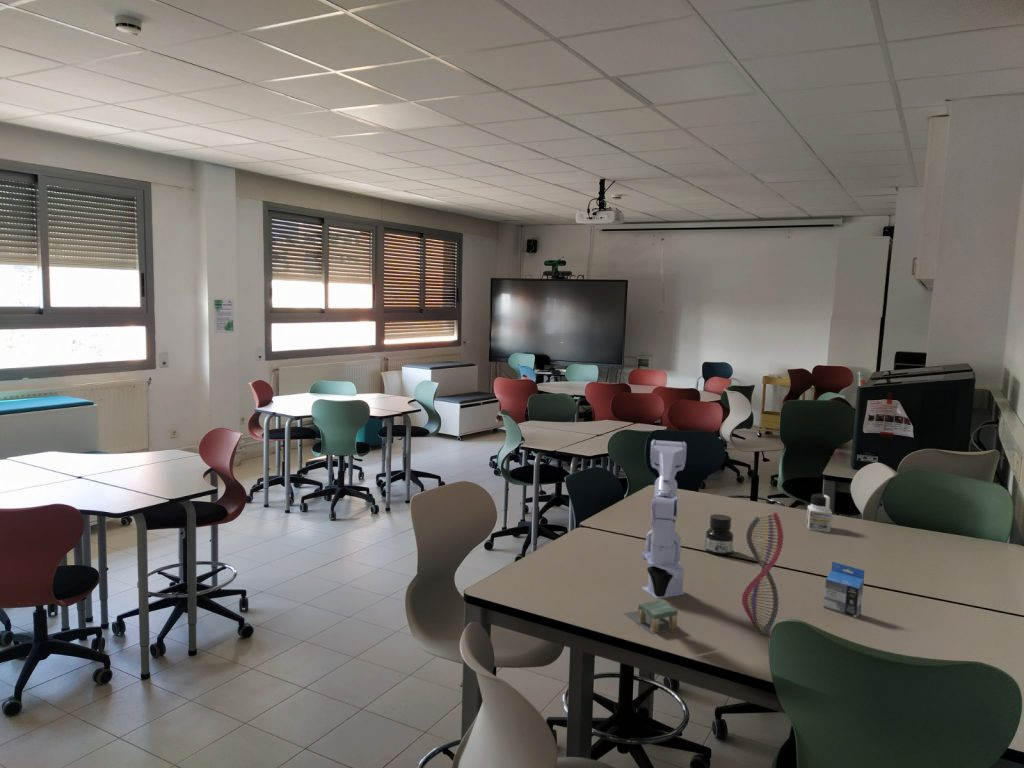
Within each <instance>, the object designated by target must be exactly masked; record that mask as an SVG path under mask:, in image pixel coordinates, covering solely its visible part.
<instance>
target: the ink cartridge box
mask: <svg viewBox="0 0 1024 768" xmlns="http://www.w3.org/2000/svg"><path fill="white" fill-rule="evenodd" d="M844 570H845V571H844ZM847 570H849V571H850V572H848V571H847ZM864 578H865V569H864V570H863V569H860V568H858V567H857V568H856V567H853V566H850V565H847V564H843V563H838V562H835V561H832V564H831V570H830V572H829V573H828V575H827V577H826V579H825V585H824V594H823V595H824V597H823V608H825V609H828V610H831V611H834V612H838V613H840V614H845V615H848V616H850V617H853V618H857V616H858V617H859V616H860V615H861V614H862V604H863V603H862V602H863V591H864V583H865V579H864Z"/></svg>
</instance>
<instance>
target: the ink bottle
mask: <svg viewBox="0 0 1024 768" xmlns="http://www.w3.org/2000/svg"><path fill="white" fill-rule="evenodd" d="M709 527H710V528H708V529H707V530H706V533H705V547H704V549H705V551H706V552H707V553H709V554H711V555H716V556H729V555H731V554H732V553H733V549H734V547H733V546H734V533H733V532H732V531H731V527H732V517H731V516H729V515H726V514H717V513H716V514H711V515H710V517H709Z"/></svg>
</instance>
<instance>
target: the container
mask: <svg viewBox="0 0 1024 768" xmlns="http://www.w3.org/2000/svg"><path fill="white" fill-rule="evenodd" d="M830 502H831V497H830V496H829V495H827V494H823V493H813V494H812V495H811V496H810V504H808V505H807V510H806V511H807V513H806V526H807V528H808V529H807V530H809V531H817V532H824V533H825V532H826V533H830V532H831V530H832V519H833V518H832V517H833V512H832V510H831V508H830V505H831V503H830Z"/></svg>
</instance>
